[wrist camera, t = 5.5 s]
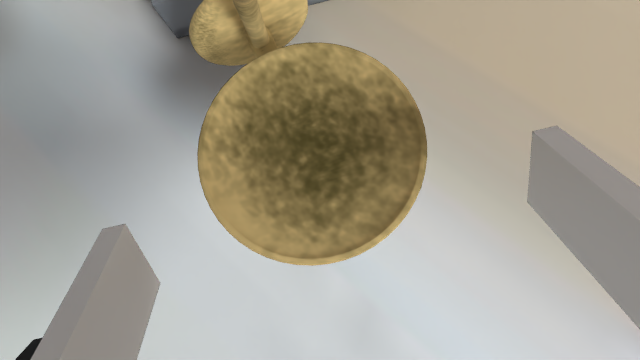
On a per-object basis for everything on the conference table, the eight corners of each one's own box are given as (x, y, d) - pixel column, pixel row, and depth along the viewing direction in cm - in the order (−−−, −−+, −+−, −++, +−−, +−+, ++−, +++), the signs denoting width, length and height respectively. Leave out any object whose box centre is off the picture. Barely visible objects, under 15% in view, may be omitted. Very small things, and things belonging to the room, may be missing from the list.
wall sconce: (211, 104, 30) (-449, -646, 5) (334, 48, 30) (241, -940, 5) (289, 290, 27) (-411, 546, 2) (425, 228, 27) (1149, -171, 2)
